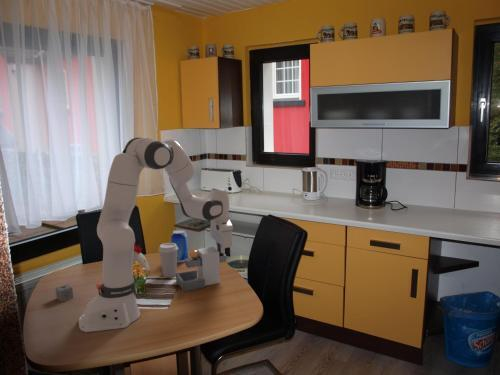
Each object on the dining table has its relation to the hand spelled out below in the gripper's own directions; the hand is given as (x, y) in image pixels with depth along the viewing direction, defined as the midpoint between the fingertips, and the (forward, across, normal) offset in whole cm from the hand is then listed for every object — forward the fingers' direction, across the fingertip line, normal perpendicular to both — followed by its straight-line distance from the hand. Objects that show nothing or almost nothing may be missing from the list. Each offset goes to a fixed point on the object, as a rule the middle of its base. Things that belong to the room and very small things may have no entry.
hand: (220, 251), depth 197 cm
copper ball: (0, 0, -13) cm, 13 cm away
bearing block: (+14, 0, -6) cm, 15 cm away
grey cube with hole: (+14, -9, -68) cm, 70 cm away
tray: (+14, 0, -15) cm, 20 cm away
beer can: (+14, -34, -11) cm, 38 cm away
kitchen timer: (+14, -25, -36) cm, 46 cm away
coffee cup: (+14, -16, -21) cm, 30 cm away
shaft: (+5, 0, -7) cm, 9 cm away
